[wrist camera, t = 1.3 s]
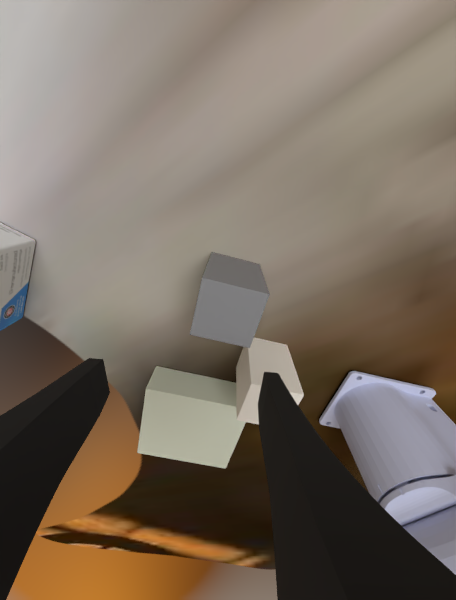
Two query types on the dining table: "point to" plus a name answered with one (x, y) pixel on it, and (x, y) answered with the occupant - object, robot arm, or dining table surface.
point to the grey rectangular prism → (230, 301)
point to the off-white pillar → (251, 374)
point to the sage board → (189, 418)
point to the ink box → (14, 273)
